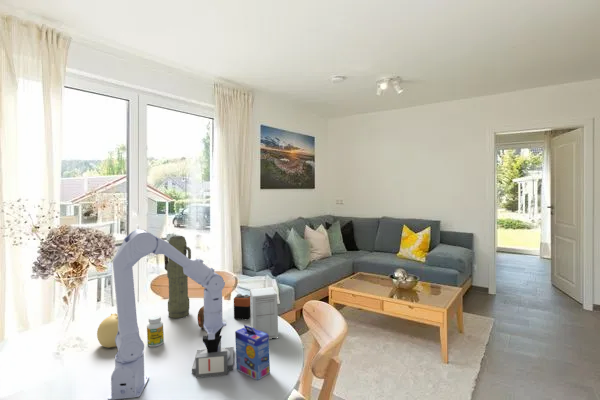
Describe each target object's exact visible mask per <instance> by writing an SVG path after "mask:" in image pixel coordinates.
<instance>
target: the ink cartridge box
mask: <svg viewBox="0 0 600 400" xmlns="http://www.w3.org/2000/svg"><path fill="white" fill-rule="evenodd" d="M243 326H244V327H241V328H240V329H237V330H235V331H234V332H235V333H234V335H235V336H234V337H235V340H234V341H235V364H236V365H235V366H236V369H235V370H237V371H238V372H241V373H243V374H244V375H246V376H248V377H250V378H251V379H252V380H253V379H254V380H255V381H260V380H261V379H262V377H263V378H264V377H266V376H268V375H270V373H271V368H270V367H271V366H270V339H269V335H268V334H267V333H265V332H262V331H259V330H255V328H252V327H251V326H249V325H245V324H244V325H243ZM267 374H268V375H267ZM265 375H266V376H265Z"/></svg>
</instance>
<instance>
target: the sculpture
mask: <svg viewBox="0 0 600 400" xmlns="http://www.w3.org/2000/svg"><path fill="white" fill-rule="evenodd" d="M96 332H97V333H96V337H97V341H98V342H99V344H100V345H101V346H102V347H103V348H116V347H117V345H116V343H115V338H116V335H117V333H118V315H117V313H111V314H110V316H108V317H106V318H104V319H103V320H102V321H101V322H100V324H99V326H98V328H97V331H96Z"/></svg>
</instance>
